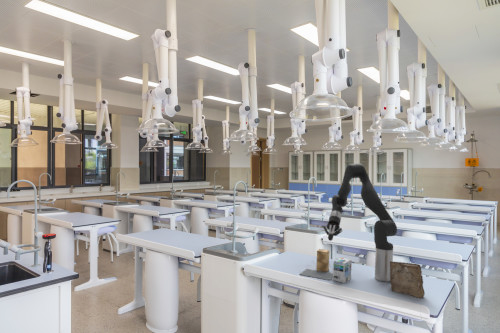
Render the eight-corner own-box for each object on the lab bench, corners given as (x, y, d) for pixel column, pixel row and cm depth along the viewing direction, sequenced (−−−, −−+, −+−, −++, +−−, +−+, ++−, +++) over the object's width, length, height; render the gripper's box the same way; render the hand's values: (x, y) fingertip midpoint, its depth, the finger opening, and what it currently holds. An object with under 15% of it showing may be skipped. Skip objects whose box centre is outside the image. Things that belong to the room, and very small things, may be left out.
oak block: (328, 270, 199) (329, 250, 199) (326, 272, 194) (326, 252, 194) (319, 268, 202) (319, 248, 202) (316, 270, 197) (316, 250, 197)
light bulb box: (344, 283, 175) (345, 263, 176) (332, 280, 179) (333, 260, 180) (351, 278, 184) (352, 259, 184) (340, 276, 188) (340, 257, 188)
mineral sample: (425, 297, 159) (425, 265, 159) (422, 299, 156) (423, 267, 156) (389, 288, 170) (390, 258, 171) (386, 290, 167) (387, 260, 168)
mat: (336, 274, 191) (336, 273, 191) (330, 280, 179) (330, 280, 179) (306, 269, 199) (306, 268, 199) (299, 274, 187) (299, 274, 187)
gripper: (324, 214, 224) (318, 235, 213) (344, 216, 218) (339, 237, 206) (326, 221, 228) (320, 242, 217) (345, 223, 222) (341, 244, 211)
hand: (329, 239), depth 212 cm, fingers closed
